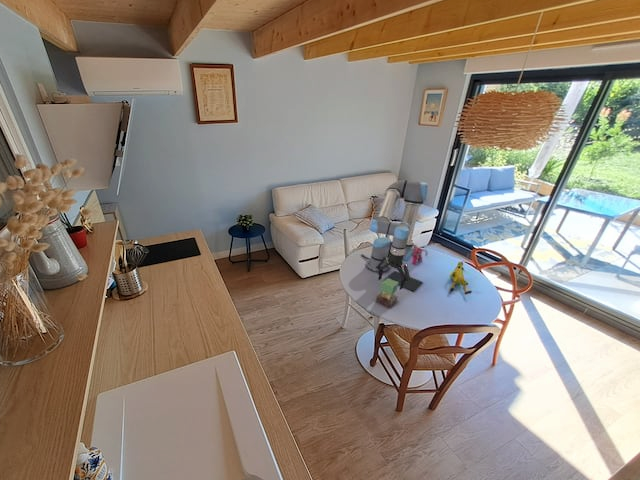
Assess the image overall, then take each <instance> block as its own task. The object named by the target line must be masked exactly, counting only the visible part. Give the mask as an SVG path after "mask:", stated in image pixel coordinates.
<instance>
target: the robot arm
mask: <svg viewBox="0 0 640 480" xmlns="http://www.w3.org/2000/svg"><path fill="white" fill-rule="evenodd" d="M428 189H429V185H428V183H427V182H425V181H424V182H423V181H416V180H408V179H407V180H406V179H399V180H397V181H395V182H393V183H391V184H390V185H389V186H388V187H387V188H386V190H385V191H384V192H385V193H384V199H383V201H382V204H381V207H380V209H379V212H378V214H377V217H376V219H375V218H373V219H372V220H370V221H371V222H370V224H369V231H370V232H372V233H375V234H381V235H382V234H383V235H386V236H392V238H389V237H385V236H380V237H376V238H375V239H374V240H373V243H372V249H371V255H370V257H367V256H366V255H364V254H361V256H362V257H363V258H364V259H367V260H368V261H367V263H366V267H367V269H368V270H370V271H371V272H373V273H374V272H375V273H377V275H378V277H377V278H378V279H377V281H381V280H382V278H383V273H385V272H387V271H389V266H390V268H393V269H396V270H397V272H398V273H400V275H401V277H402V281H401V285H400V286H399V290H400V291H401V290H403V288H404V287H403V285H405V284H406V281H409V280H410V277H411V275H410V272H409V267H408V266H409V265H408V263H403V262H408V261H410V258H411V257H412V256H411V254H412V252H413V249H414V246H412V244H413V243H414V242H413V241H411V240H413V239H412V238H413V234H414V231H415V226H416V222H417V218H418V214H419V210H420V207H421V206H422V205H423V204H424V202H427V199H428V198H427V197H428ZM400 199H404V200H403V202H404V204H405V205H404V209H403V210H404V211H403V215H402V219H401V222H399V223H397V222H391V218H392V217H393V213H394V210H395V207H396V205H397V201H398V200H400Z"/></svg>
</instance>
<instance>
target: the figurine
mask: <svg viewBox="0 0 640 480" xmlns="http://www.w3.org/2000/svg"><path fill="white" fill-rule="evenodd" d="M464 272H466V270H465V269H464V262H462V261H458V263H457V265H456V267H455V268H454V270H452V271H451V273H450V274H449V277H450V279H452V281H453V282H452V283H451V285H450V289H449V293H452V292H453V291H454V290H455V288H454V287H455V285H456V284H458V285H461V286H462V290H463V292H464V295H470V294H471V293H472V290H467V287H466V286H469V282H467V280H466V279H465V277H464Z"/></svg>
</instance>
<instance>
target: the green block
mask: <svg viewBox="0 0 640 480" xmlns="http://www.w3.org/2000/svg"><path fill="white" fill-rule="evenodd" d="M386 278H387V277H386ZM386 278H385V279H386ZM398 283H399V282H396V281H394V280H392V279H389V278H387V279H386V280H384V281H382V282H381V287H380V291H381V292H385V293H387V294H389V295H392V294H393V295H395V293H396V292H397V291H398V288H399V285H398Z"/></svg>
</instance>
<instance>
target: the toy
mask: <svg viewBox="0 0 640 480" xmlns="http://www.w3.org/2000/svg"><path fill="white" fill-rule="evenodd" d="M411 241H412V243H413V244H412V246H414V249H413V252H412V254H411V257H412V259H411V261H412V265H417V263H418V262H419V263H421V262H422V261H423V256H422V254H423V252H425V253H424V254H425V258H427V257H428V254H429V253H428V251H427V249H425V248H424V249H423V248H421V247H419V246H417V244H414V242H413V241H414V240H413V239H411Z"/></svg>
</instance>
